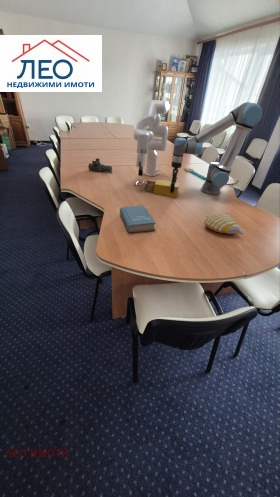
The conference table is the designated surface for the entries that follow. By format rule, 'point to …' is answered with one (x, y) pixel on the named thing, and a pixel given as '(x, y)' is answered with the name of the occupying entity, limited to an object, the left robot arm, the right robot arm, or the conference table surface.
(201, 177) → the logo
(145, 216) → the book
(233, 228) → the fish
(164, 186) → the cabinet
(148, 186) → the drawer
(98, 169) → the laser sight
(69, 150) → the conference table surface
